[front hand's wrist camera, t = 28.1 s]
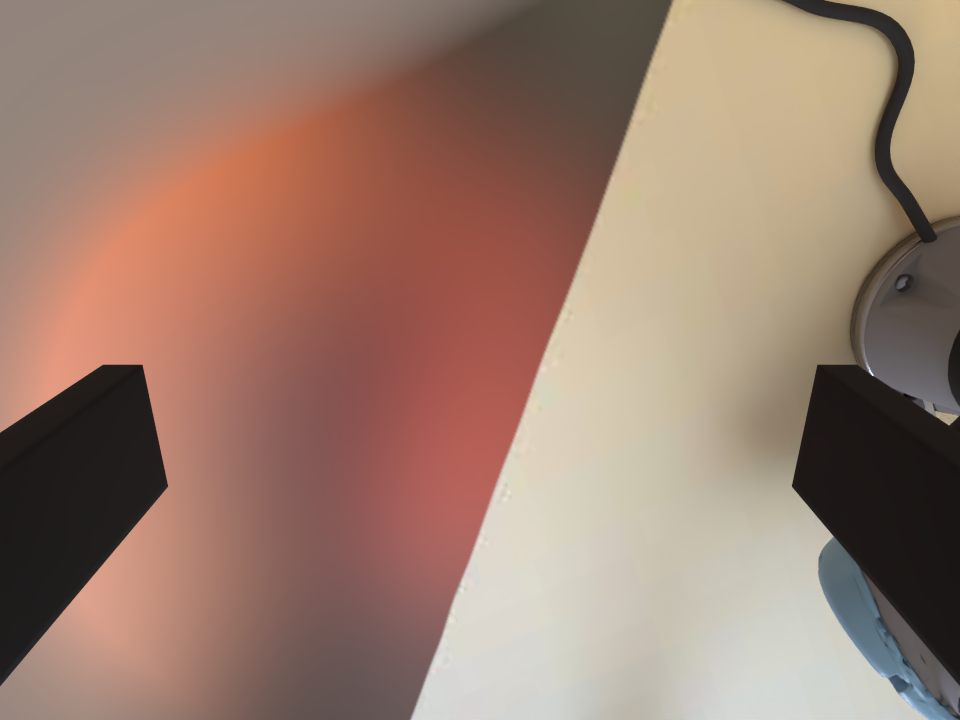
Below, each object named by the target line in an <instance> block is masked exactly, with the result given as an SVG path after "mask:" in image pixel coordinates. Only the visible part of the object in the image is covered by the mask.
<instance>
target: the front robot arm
mask: <svg viewBox="0 0 960 720" xmlns="http://www.w3.org/2000/svg"><path fill="white" fill-rule="evenodd" d="M783 1H785V2H788V3H790V4H792V5H794V6H796V7H798V8H800V9H803V10H805V11H807V12H810V13H813V14H816V15H819V16H824V17H828V18H834V19H839V20H846V21H852V22H858V23H862V24H867V25H870V26H873V27H875V28H877V29H879V30H880V31H881V32H883V33H884V34H885V35H886V36H887V37H888V38H889V39H890V40H891V42H892V44H893V46H894V47H895V50H896V53H897V56H898V63H899V68H898V76H897V80H896V84H895V86H894V89H893V92H892V95H891V97H890V100H889V102H888V105H887V107H886V110H885V112H884V115H883V117H882V120H881V123H880V126H879V129H878V133H877V138H876V145H875V158H876V165H877V169H878V172H879V174H880V176H881V178H882V180H883V181H884V183H885V184H886V186H887V187H888V188H889V190H890V191H891V192H892V193H893V194H894V196H895V197H896V198H897V200H898V201H899V203H900V204H901V206H902V207H903V209H904V211H905V212H906V214H907V216H908V218H909V219H910V221H911V223H912V224H913V226H914V228H915V230H916V231H917V232H915V233H914V234H912V235H911V236H909V237H907V238H906V239H905V240H903V241H902V242H901V243H899V244H898V245H897V246H895V247H894V248H893V249H892V250H891V251H890V252H889V253H888V254H887V255H886V256H885V257H884V258H883V259H882V260H881V261H880V262H879V263H878V265H877V266H876V267H875V268H874V269H873V271H872V272H871V274H870V275H869V277H868V278H867V280H866V282H865V283H864V285H863V287H862V289H861V291H860V293H859V295H858V298H857V300H856V303H855V306H854V310H853V314H852V320H851V331H850V333H851V344H852V350H853V353H854V356H855V359H856V361H857V364H858V365H859V366H858V365H817V370H816V374H815V379H814V384H813V389H812V393H811V398H810V403H809V408H808V412H807V417H806V422H805V427H804V431H803V436H802V441H801V446H800V450H799V455H798V460H797V465H796V469H795V474H794V479H793V484H792V487H793V488H794V490H795V491H796V492H797V493H798V494H799V496H800V497H801V498H802V499H803V500H804V501H805V503H806V504H807V505H808V506H809V507H810V509H811V510H812V511H813V512H814V513H815V515H816V516H817V517H818V518H819V519H820V521H821V522H822V523H823V524H824V525H825V526H826V528H827V529H828V530H829V531H830V532H831V534H832V535H833V536H834V537H833V538H832V539H831V540H830V541H829V542H828V543H827V544H826V545H825V547H824V548H823V550H822V551H821V553H820V556H819V570H818V575H819V580H820V584H821V587H822V590H823V592H824V595H825V597H826V599H827V601H828V603H829V605H830V607H831V609H832V611H833V613H834V614H835V616H836V618H837V619H838V621H839V622H840V624H841V625H842V627H843V629H844V630H845V631H846V633H847V634H848V636H849V637H850V639H851V640H852V641H853V643H854V644H855V645H856V647H857V648H858V649H859V651H860V652H861V653H862V655H863V656H864V657H865V658H866V659H867V661H868V662H869V663H870V664H871V666H872V667H873V668H874V669H875V670H876V671H877V672H878V673H879V674H880V675H881V676H882V677H886V678H888V679H889V680H890V682H891V684H892V685H893V687H894V688H895V690H896V691H897V692H898V694H899V695H900V696H901V697H902V698H903V699H904V700H905V701H907V702H908V703H909V704H910V705H911V706H912V707H913V708H914V709H916V710H917V711H918V712H919V713H921V714H922V715H923V716H925V717H926V718H928V719H929V720H960V216H959V217H954V218H949V219H945V220H942V221H939V222H937V223H934V224H932V225H930V223H929V222H928V220H927V218H926V216H925V215H924V213H923V211H922V210H921V208H920V206H919V204H918V203H917V201H916V199H915V198H914V196H913V195H912V193H911V192H910V190H909V189H908V188H907V187H906V185H905V184H904V183H903V182H902V180H901V179H900V178H899V176H898V175H897V173H896V172H895V170H894V168H893V165H892V162H891V157H890V143H891V137H892V133H893V129H894V126H895V123H896V120H897V118H898V115H899V113H900V110H901V108H902V106H903V103H904V101H905V98H906V96H907V93H908V91H909V88H910V85H911V81H912V77H913V73H914V64H915V60H914V50H913V47H912V44H911V41H910V39H909V37H908V35H907V33H906V32H905V30H904V29H903V28H902V27H901V26H900V24H899V23H898V22H896V21H895V20H894V19H892V18H891V17H889V16H887V15H885V14H883V13H881V12H878V11H875V10H872V9H868V8H864V7H858V6H852V5H846V4H840V3H834V2H829V1H825V0H783ZM925 409H926V410H925ZM935 411H938V412H943V413H949V414H954V415H959V417H958V418H957V419H956V420H955V421H954V422H953V423H952V424H951V425H947V424H946V423H944V422H943V421H941V420H940V419H938V418H937V417H936V415H935ZM167 487H168V484H167V479H166V474H165V470H164V465H163V460H162V455H161V451H160V446H159V441H158V436H157V431H156V427H155V422H154V417H153V413H152V408H151V403H150V398H149V394H148V389H147V384H146V379H145V375H144V370H143V365H102V366H100V367H99V368H97V369H96V370H94V371H93V372H91V373H90V374H88V375H87V376H85V377H84V378H82V379H81V380H79V381H78V382H76V383H75V384H73V385H72V386H70V387H69V388H67V389H66V390H64V391H63V392H61V393H60V394H58V395H57V396H55V397H54V398H52V399H51V400H49V401H48V402H46V403H45V404H43V405H41V406H40V407H39V408H37V409H35V410H34V411H33V412H31V413H29V414H28V415H26V416H25V417H23V418H22V419H20V420H19V421H17V422H16V423H14V424H13V425H11V426H10V427H8V428H7V429H5V430H4V431H2V432H1V433H0V686H1V685H2V683H3V682H4V681H5V680H6V679H7V677H8V676H9V675H10V674H11V673H12V672H13V670H14V669H15V668H16V667H17V666H18V664H19V663H20V662H21V661H22V660H23V658H24V657H25V656H26V655H27V654H28V652H29V651H30V650H31V649H32V648H33V647H34V645H35V644H36V643H37V642H38V641H39V639H40V638H41V637H42V636H43V635H44V633H45V632H46V631H47V630H48V629H49V627H50V626H51V625H52V624H53V623H54V622H55V620H56V619H57V618H58V617H59V616H60V614H61V613H62V612H63V611H64V610H65V609H66V607H67V606H68V605H69V604H70V603H71V601H72V600H73V599H74V598H75V597H76V595H77V594H78V593H79V592H80V591H81V589H82V588H83V587H84V586H85V585H86V584H87V582H88V581H89V580H90V579H91V578H92V576H93V575H94V574H95V573H96V572H97V570H98V569H99V568H100V567H101V566H102V565H103V563H104V562H105V561H106V560H107V558H108V557H109V556H110V555H111V554H112V553H113V551H114V550H115V549H116V548H117V547H118V545H119V544H120V543H121V542H122V541H123V540H124V538H125V537H126V536H127V535H128V534H129V532H130V531H131V530H132V529H133V528H134V526H135V525H136V524H137V523H138V522H139V521H140V519H141V518H142V517H143V516H144V515H145V513H146V512H147V511H148V510H149V509H150V507H151V506H152V505H153V504H154V503H155V501H156V500H157V499H158V498H159V497H160V496H161V494H162V493H163V492H164V491H165V490H166V488H167Z"/></svg>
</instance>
